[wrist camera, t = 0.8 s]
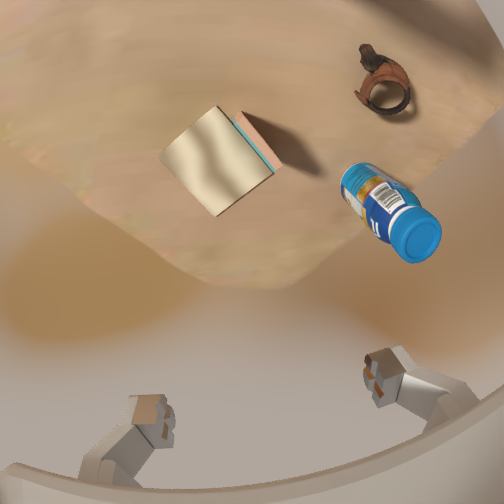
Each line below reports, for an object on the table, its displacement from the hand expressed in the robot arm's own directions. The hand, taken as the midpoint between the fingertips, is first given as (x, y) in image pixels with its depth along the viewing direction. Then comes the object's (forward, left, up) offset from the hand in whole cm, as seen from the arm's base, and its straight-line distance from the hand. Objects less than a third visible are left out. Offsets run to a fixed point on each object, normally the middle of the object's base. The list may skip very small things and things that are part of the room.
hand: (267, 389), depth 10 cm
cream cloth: (+4, 0, -39) cm, 39 cm away
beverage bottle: (-14, +18, -39) cm, 45 cm away
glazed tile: (-4, 0, -39) cm, 39 cm away
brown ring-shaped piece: (-26, +3, -39) cm, 47 cm away
